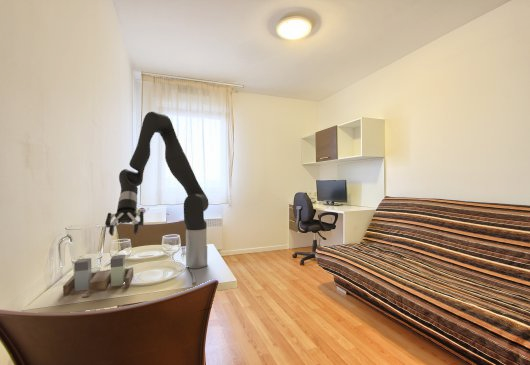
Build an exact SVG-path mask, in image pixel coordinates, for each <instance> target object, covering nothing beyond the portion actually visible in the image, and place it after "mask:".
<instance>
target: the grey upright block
mask: <svg viewBox="0 0 530 365" xmlns="http://www.w3.org/2000/svg"><path fill="white" fill-rule="evenodd" d="M125 268H126V254H122V255H121V254H120V255H112V257H110V270H111V286H119V285H124V284H123V283H124V282H125Z"/></svg>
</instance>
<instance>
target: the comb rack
mask: <svg viewBox="0 0 530 365" xmlns="http://www.w3.org/2000/svg"><path fill="white" fill-rule="evenodd" d="M91 273H92V280H91V281H90V282H89V289H88V290H81V291H75V275H74V274H73V275H72V276H71V277H70V278H69V279H68V280H67V281H66V282H65V283H64V284H63V286H62V289H63V290H62V293H63V295H62V296H63V297H68V296H77V295H83V294H91V293H98V292H105V291H106V292H107V291H114V290H120V289H128V288H130V286H131V284H130V283H132V282H133V278H134V267H125V284H124V285H119V286H111V269H105V270H98V271H91Z"/></svg>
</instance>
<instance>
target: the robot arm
mask: <svg viewBox="0 0 530 365" xmlns="http://www.w3.org/2000/svg"><path fill="white" fill-rule="evenodd" d="M142 121H143V122H142V125H141V128H140V132H139V137H138V140H137V144H136V147H135V149H134V152H133V154H132V155H131V159H130V161H129V167H131V169H133V170H131V169H127V168H125V169H122V170H121V171H120V172H119V175H118V181H119V185H120V194H119V198H118V203H117V208H116V209H117V210H116V212H115V213H111V212H108V213H107V215H106V219H105V221H104V222H105V227H106V228H109V230H108V233H109V235H110V236H111V237H112V236H114V232H115V227H117V226H119V225H120V224H130V223H131V224H132V225H134V226H133V234H134V235H137V233H139V227H140V226H141V227H142V226H144V224H145V222H144V212H143V211H140V212H137V206H138V192H139V191H138V190H139V189H138V187H139V186H140V185H142V183H143V180H144V173H145V168H146V166H147V164H148V162H149V160H150V157H151V141H152V138H153V136H154V135H155V133H158V134H159V135H160V136H161V139H162V140H163V142H164V159H165V162H166V164H167V167H168V168H169V171H170V173H171V175H172V176H173V177H174V178H175V180H177V182H178V183H179V184H180V185H181V186H182V187H183V188H184V190H185V193H186V195H187V196H186V197H185V199H184V202H183V221H184V224H185V266H188V267H189V268H188V267H187V268H188V269H192V270H193V269H202V268H204V267H207V266H208V245H207V244H208V242H207V238H208V237H207V231H208V230H207V228H208V227H207V226H208V225H207V221H205V219H204V218H205V215H204V213H205V211H207V210H208V208H209V199H208V197H207V195H206V194H205V192H204V190H203V188H202V187H201V185H200V184H199V182H198V179H197V177H196V175H195V173H194V171H193V169H192V166H191V164H190V162H189V160H188V158H187V155H186V153H185V152H184V149H183V147H182V145H181V143H180V141H179V139H178V136H177V133H176V131H175V128H174V125H173V122H172V120H171V118H170V117H169V116H168V115H167V114H165V113H162V112H157V111H149V112H147V113H146V114H145V116H144V118H143V120H142ZM136 217H138V218H139V221H138V220H137V219H136Z"/></svg>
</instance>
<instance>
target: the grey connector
mask: <svg viewBox="0 0 530 365" xmlns="http://www.w3.org/2000/svg"><path fill="white" fill-rule="evenodd" d="M73 264H74V266H73V267H74V269H73V270H74V274H73V275H75V291H81V290H88V289H89V282H90V281H91V280H92V273H91V272H92V258H91V257H87V258H79V259H77V260H75V261H74V262H73Z"/></svg>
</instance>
